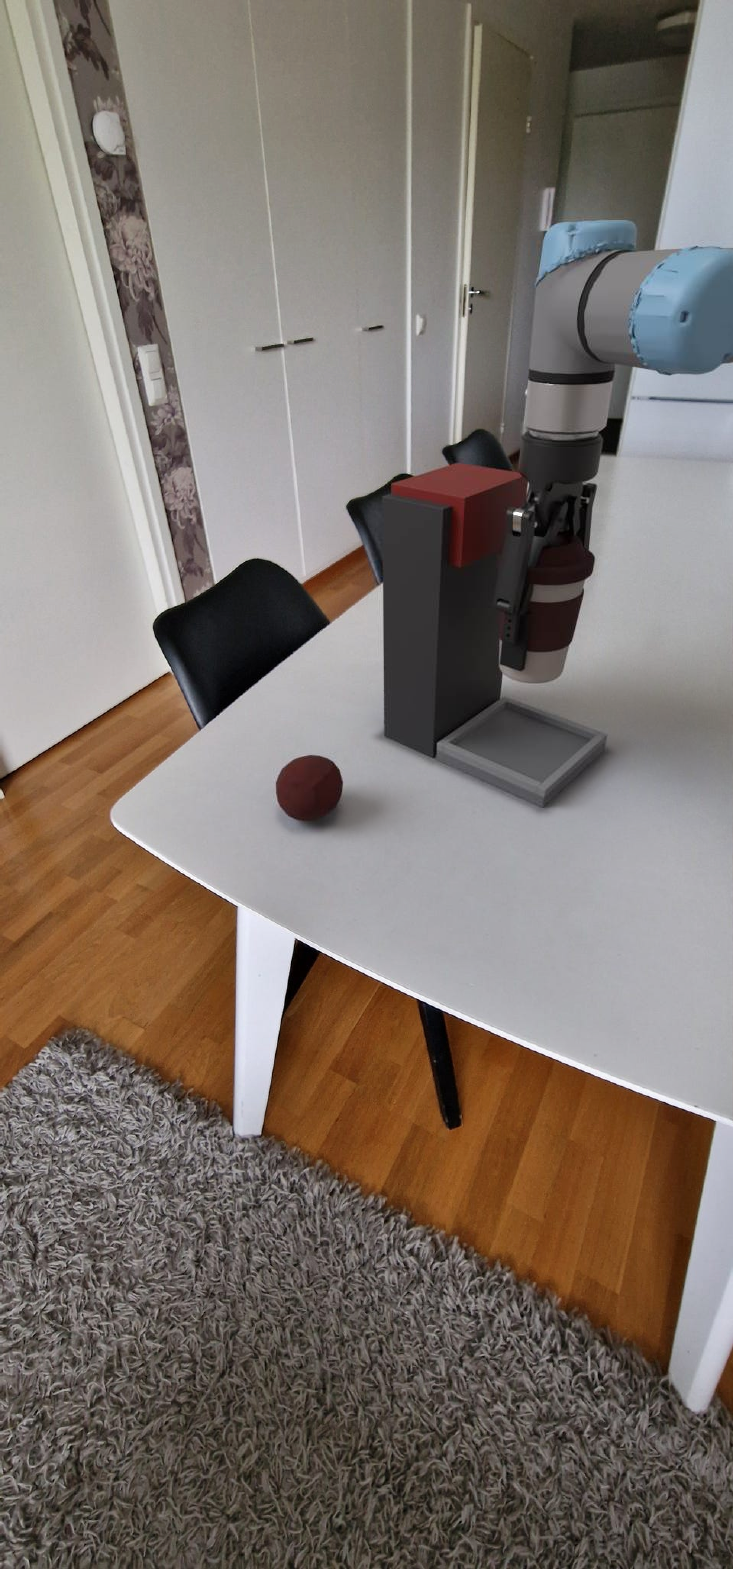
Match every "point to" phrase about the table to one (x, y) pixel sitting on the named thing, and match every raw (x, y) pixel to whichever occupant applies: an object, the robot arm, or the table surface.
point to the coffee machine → (463, 638)
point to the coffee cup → (551, 608)
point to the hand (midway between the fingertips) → (533, 652)
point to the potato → (309, 787)
